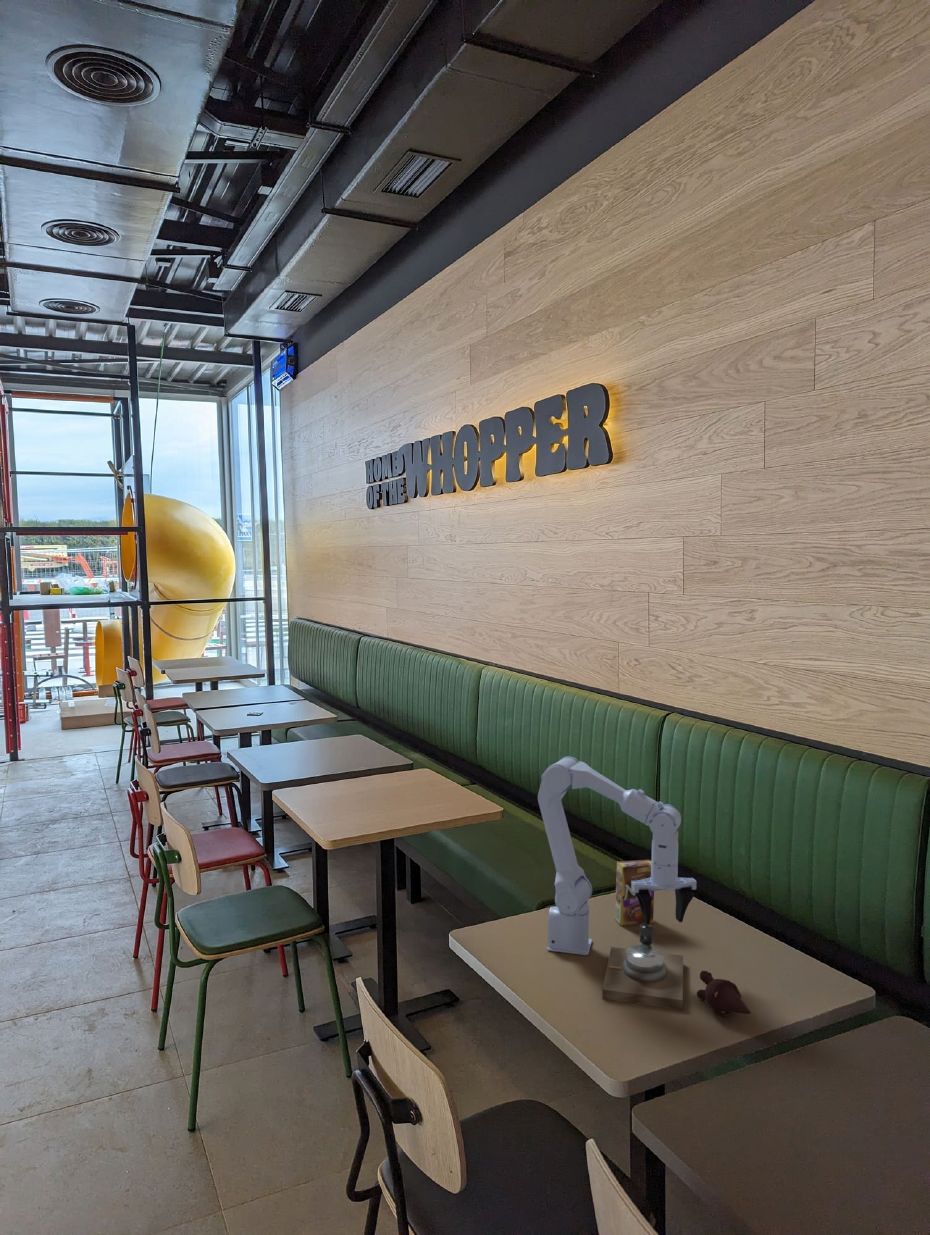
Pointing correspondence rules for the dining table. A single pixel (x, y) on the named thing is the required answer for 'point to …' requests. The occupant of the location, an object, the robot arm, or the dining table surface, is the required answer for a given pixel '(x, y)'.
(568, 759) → the robot arm
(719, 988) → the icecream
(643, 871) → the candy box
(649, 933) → the grey disc with handle
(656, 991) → the lock base
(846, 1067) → the dining table surface
